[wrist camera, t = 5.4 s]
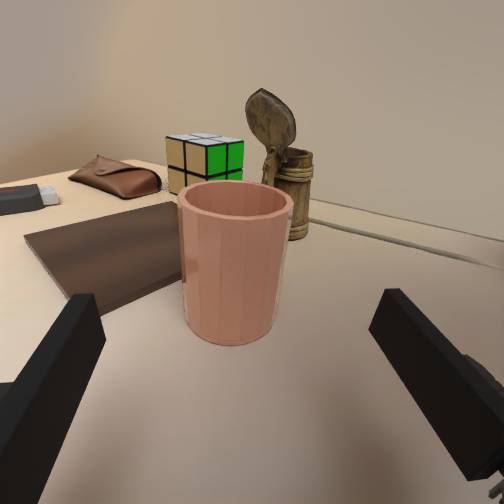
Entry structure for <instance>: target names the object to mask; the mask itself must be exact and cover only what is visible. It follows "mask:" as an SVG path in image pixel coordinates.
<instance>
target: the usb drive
mask: <svg viewBox="0 0 504 504" xmlns="http://www.w3.org/2000/svg"><path fill="white" fill-rule="evenodd" d="M58 203H59V200H58V196H57V193H56V191H55V189H54V187H44V188H38V185H37V184H32V185H25V186H15V187H4V188H0V215H7V214H14V213H21V212H28V211H35V210H39V209H42V208H45V206H44V205H50V204H58Z"/></svg>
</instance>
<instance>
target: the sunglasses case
mask: <svg viewBox="0 0 504 504" xmlns="http://www.w3.org/2000/svg"><path fill="white" fill-rule="evenodd" d="M68 179H72V180H76V181H79V182H82V183H84V184H87V185H90V186H92V187H95V188H97V189H100V190H102V191H105V192H107V193H110V194H113V195H116V196H120V197H123V198H133V197H141V196H146V195H149V194H153V193H156V192H158V191H159V190H160V189H161V186H162V182H161V179H160V177H159V175H158V174H156V173H155V172H154V171H152V170H149V169H146V168H141V167H135V166H132V165H129V164H126V163H123V162H119V161H115V160H111V159H107V158H104V157H102V156H100V155H97V158H95V159H94V160H93V161H91V162H90V163H88V164H87V165H86V166H84V167H82V168H81V169H79V170H78V171H77V172H75V173H74V174H73V175H71V176H70V177H68Z"/></svg>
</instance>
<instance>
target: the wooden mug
mask: <svg viewBox="0 0 504 504" xmlns="http://www.w3.org/2000/svg"><path fill="white" fill-rule="evenodd" d="M245 112H246V117H247V122H248V125H249V127H250V129H251V131H252V133H253V134H254V135H255V136H256V138H257V139H258V140H259V141H260V142H261V143H262V144H263V145H265V147H266V151H267V158H266V159H265V161H264V165H263V169H262V170H263V178H262V182H261V184H265V185H268V186H271V187H274V188H277V189H280V190H281V191H283V192H285V193H286V194H288V195H289V196H291V198H292V200H293V202H294V207H293V213H292V220H291V226H290V232H289V238H288V240H296V239H299V238H302V237H304V236H305V235H306V234H307V232H308V225H309V218H308V211H309V197H310V183H311V178H312V177H313V167H314V165H313V164H312V158H313V154H312V153H311V152H308V151H306V150H300V149H296V148H292V147H288V146H289V145H290V144H291V143H293V142H294V141H295V137H296V124H295V119H294V116H293V114H292V112H291V110H290V109H289V108H288V107H287V106H286V105H285V104H284V103H283V102H282V101H281V100H280V99H279V98H277V97H276V96H275V95H273V94H272V93H270V92H268V91H266V90H265V89H263V88H261V89H259V90H258V91H256V92H255V93H254V94H252V95H251V96H250V98H249V99H248V101H247V103H246V108H245Z"/></svg>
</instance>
